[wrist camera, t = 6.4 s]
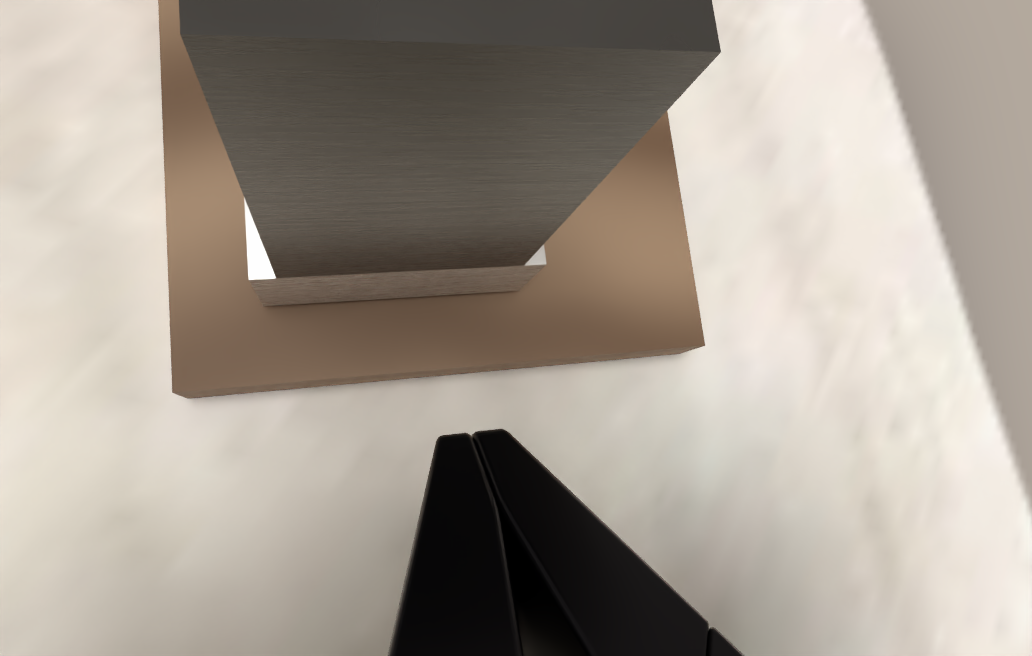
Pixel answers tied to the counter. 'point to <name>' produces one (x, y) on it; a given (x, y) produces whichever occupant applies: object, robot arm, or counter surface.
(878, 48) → the counter surface
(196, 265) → the base
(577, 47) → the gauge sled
